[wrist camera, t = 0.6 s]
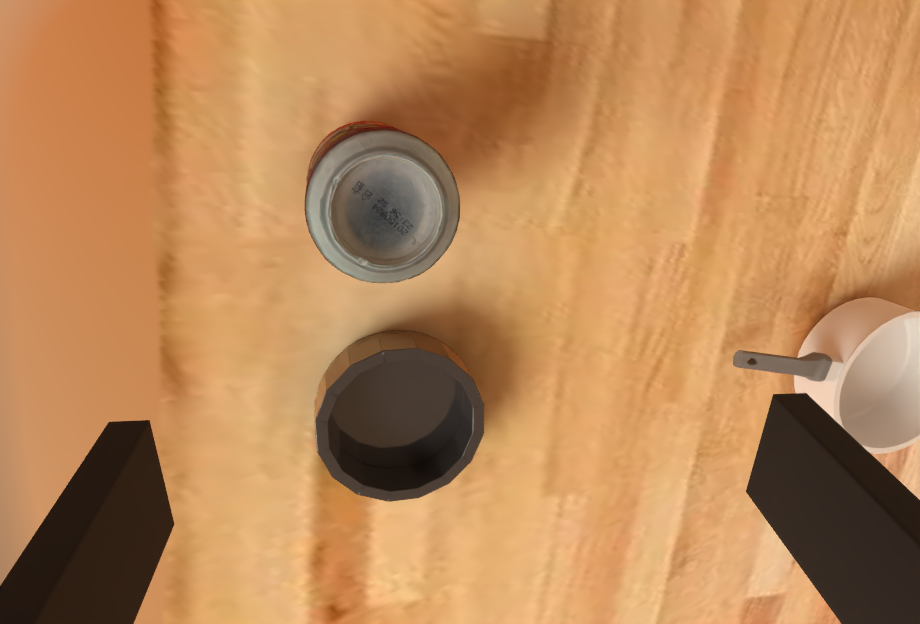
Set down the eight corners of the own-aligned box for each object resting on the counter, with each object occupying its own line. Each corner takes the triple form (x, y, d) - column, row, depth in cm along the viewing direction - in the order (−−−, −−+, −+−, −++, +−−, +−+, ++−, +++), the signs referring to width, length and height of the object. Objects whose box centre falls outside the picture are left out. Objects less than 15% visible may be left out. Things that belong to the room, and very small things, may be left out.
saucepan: (720, 258, 46) (770, 278, 41) (926, 300, 52) (994, 323, 47) (671, 400, 50) (713, 435, 44) (870, 426, 55) (928, 460, 50)
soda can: (349, 94, 38) (365, 94, 26) (444, 165, 40) (496, 194, 29) (283, 192, 38) (271, 233, 27) (380, 256, 41) (405, 318, 30)
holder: (281, 414, 43) (278, 440, 40) (392, 297, 42) (399, 314, 39) (398, 498, 47) (405, 528, 44) (502, 393, 46) (517, 416, 43)
